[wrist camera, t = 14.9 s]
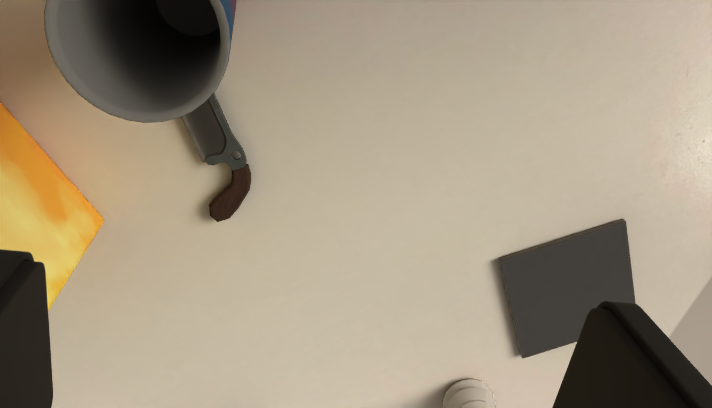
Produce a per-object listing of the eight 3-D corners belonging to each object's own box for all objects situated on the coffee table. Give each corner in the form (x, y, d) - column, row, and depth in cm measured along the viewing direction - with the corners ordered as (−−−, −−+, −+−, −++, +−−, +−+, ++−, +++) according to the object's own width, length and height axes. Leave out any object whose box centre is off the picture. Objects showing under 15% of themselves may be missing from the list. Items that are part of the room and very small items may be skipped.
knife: (267, 202, 42) (266, 206, 42) (214, 220, 42) (213, 225, 42) (179, 5, 36) (177, 6, 36) (118, 28, 36) (115, 29, 36)
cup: (269, -29, 36) (258, -5, 23) (225, 72, 38) (191, 150, 25) (159, -87, 34) (76, -99, 21) (119, 23, 37) (21, 77, 23)
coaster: (498, 257, 46) (500, 261, 46) (622, 218, 46) (626, 221, 46) (520, 354, 51) (522, 358, 50) (634, 319, 50) (637, 322, 50)
